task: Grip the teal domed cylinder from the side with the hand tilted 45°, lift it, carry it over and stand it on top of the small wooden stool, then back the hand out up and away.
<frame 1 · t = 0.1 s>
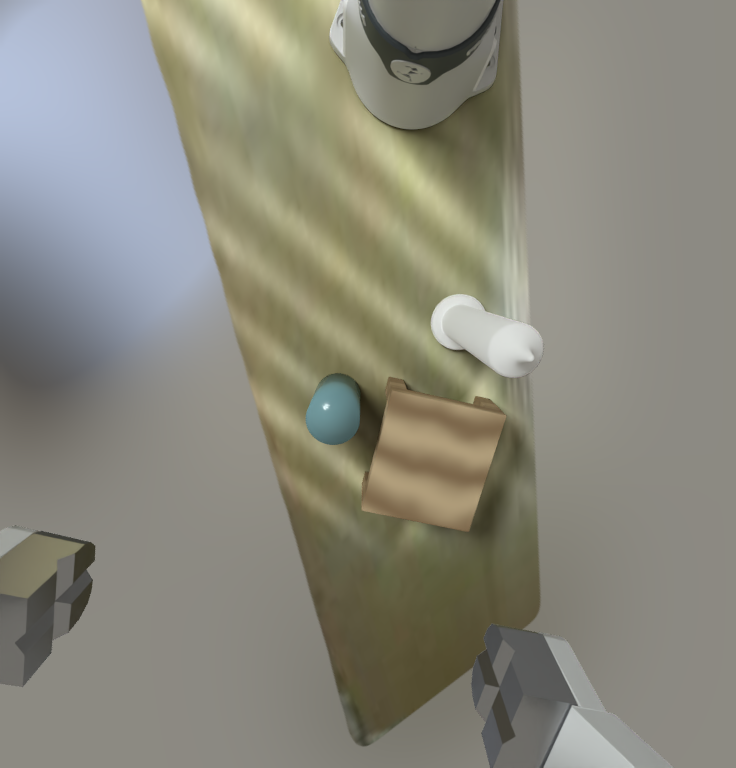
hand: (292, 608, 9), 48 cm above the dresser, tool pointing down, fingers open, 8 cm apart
teal domed cylinder: (338, 395, 57), on the dresser
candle: (457, 321, 55), on the dresser
small wooden stool: (424, 442, 59), on the dresser
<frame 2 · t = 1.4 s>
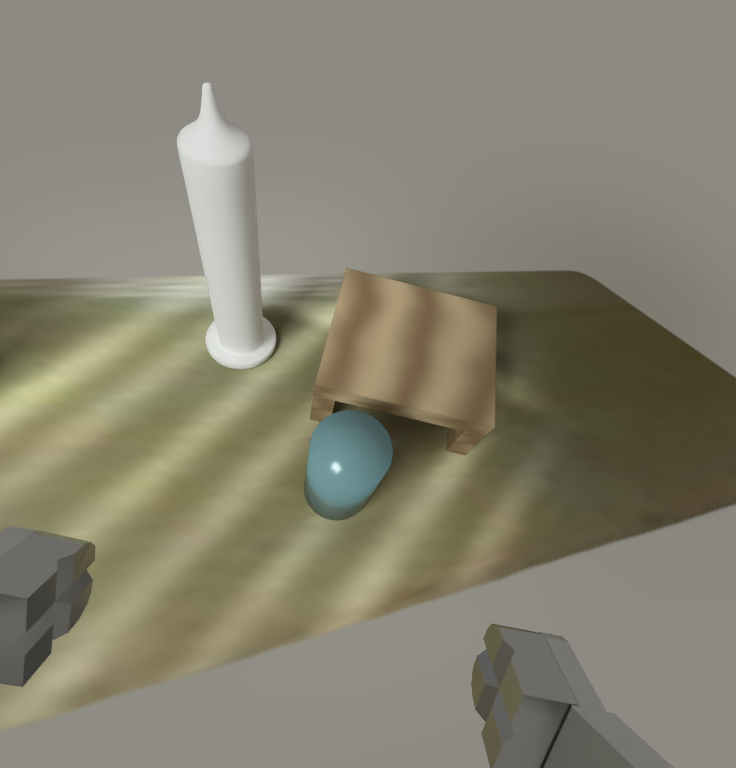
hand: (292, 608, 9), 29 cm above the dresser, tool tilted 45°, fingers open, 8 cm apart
teal domed cylinder: (336, 486, 39), on the dresser
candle: (242, 342, 45), on the dresser
small wooden stool: (397, 378, 46), on the dresser
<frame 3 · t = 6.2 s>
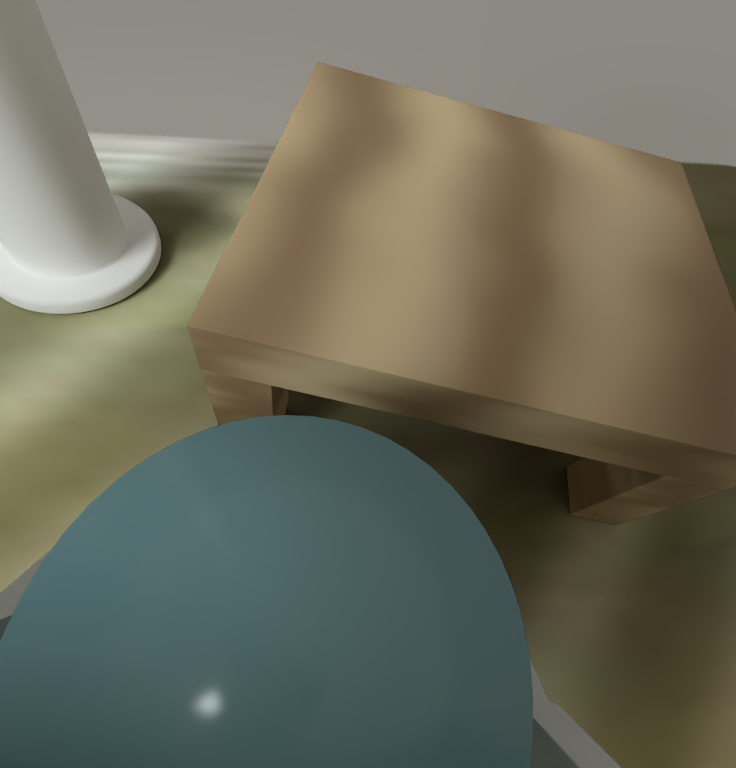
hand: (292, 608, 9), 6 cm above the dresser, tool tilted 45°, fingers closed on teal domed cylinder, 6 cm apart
teal domed cylinder: (284, 639, 13), on the dresser, touching gripper
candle: (79, 257, 20), on the dresser
small wooden stool: (439, 341, 20), on the dresser
when the fingers open (14 cm above the dresser, at t = 12.8 s): teal domed cylinder drops 1 cm, resting on small wooden stool.
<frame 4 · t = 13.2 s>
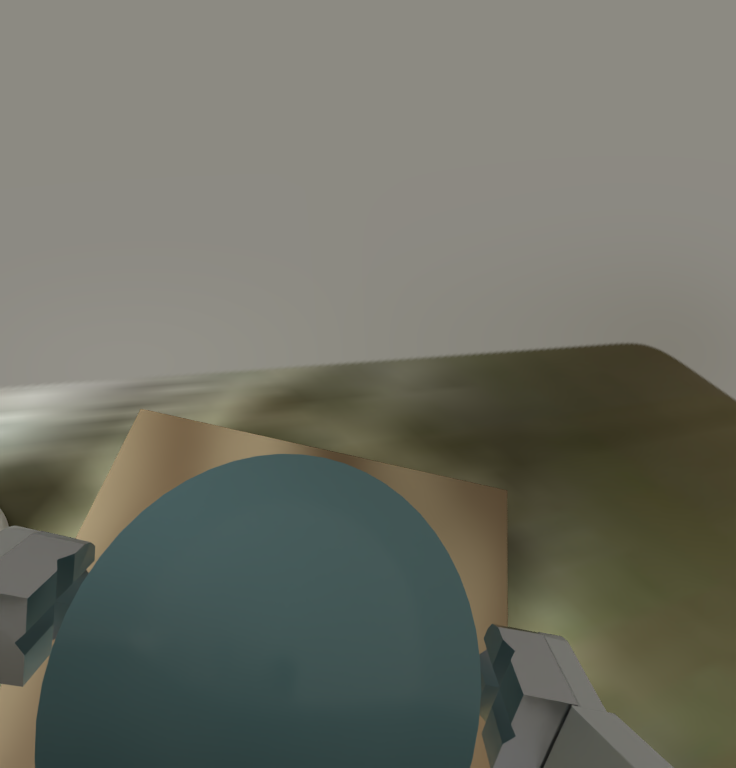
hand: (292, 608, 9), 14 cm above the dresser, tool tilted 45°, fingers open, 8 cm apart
teal domed cylinder: (282, 638, 15), point 7 cm above the dresser, touching small wooden stool
small wooden stool: (285, 636, 21), on the dresser
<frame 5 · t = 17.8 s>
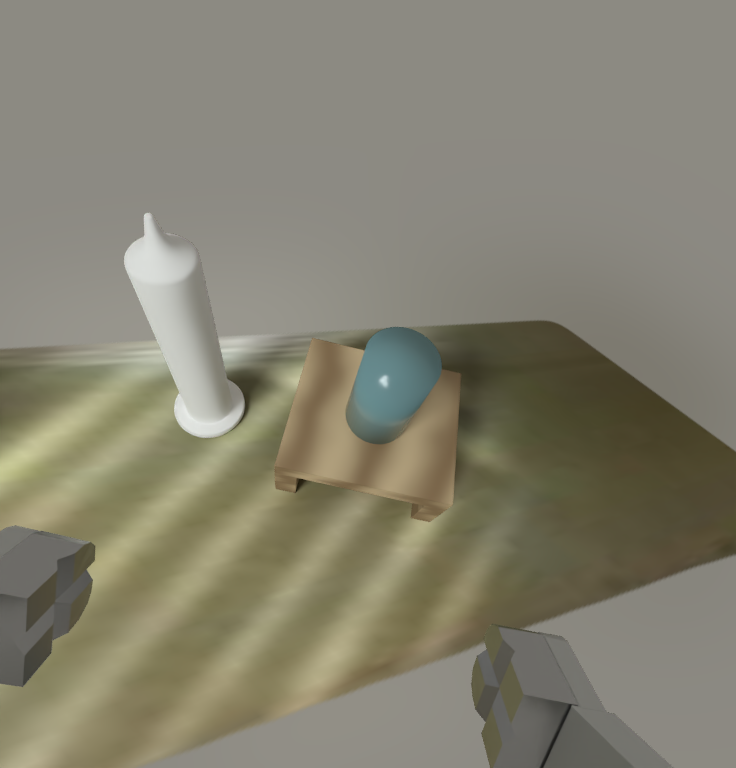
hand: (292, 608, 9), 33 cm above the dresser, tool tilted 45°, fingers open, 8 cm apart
teal domed cylinder: (376, 414, 41), point 7 cm above the dresser, touching small wooden stool
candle: (211, 408, 46), on the dresser
small wooden stool: (365, 442, 47), on the dresser
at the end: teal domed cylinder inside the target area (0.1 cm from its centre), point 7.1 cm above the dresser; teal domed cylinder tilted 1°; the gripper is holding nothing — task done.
